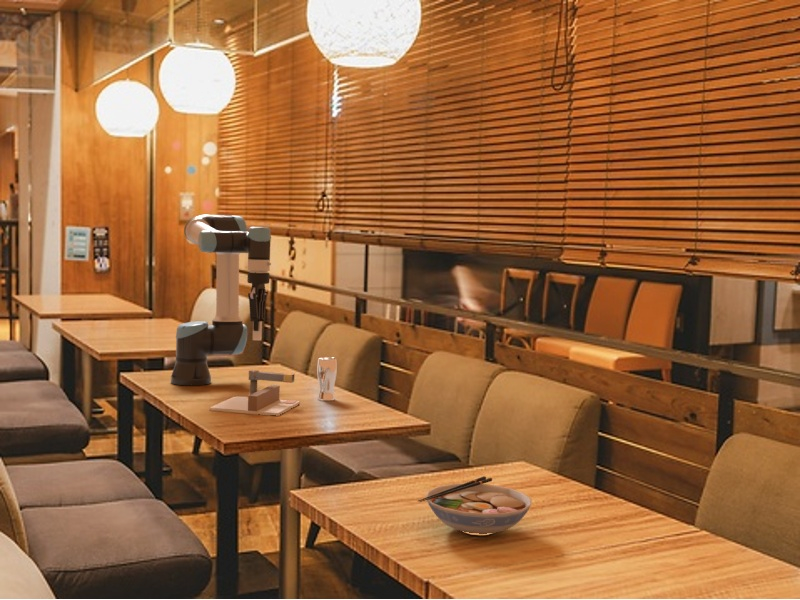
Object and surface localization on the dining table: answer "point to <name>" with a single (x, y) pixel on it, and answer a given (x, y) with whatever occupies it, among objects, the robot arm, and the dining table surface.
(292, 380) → the swing bar
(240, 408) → the lock base
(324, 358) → the beer glass
